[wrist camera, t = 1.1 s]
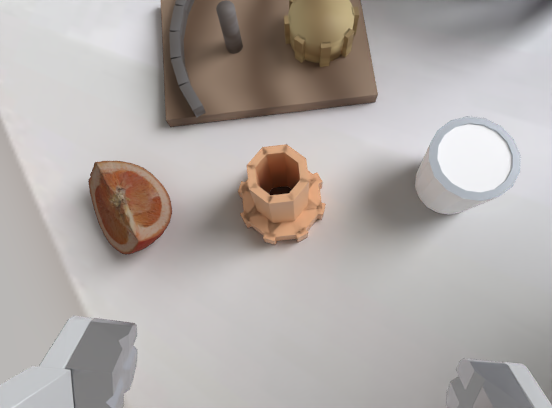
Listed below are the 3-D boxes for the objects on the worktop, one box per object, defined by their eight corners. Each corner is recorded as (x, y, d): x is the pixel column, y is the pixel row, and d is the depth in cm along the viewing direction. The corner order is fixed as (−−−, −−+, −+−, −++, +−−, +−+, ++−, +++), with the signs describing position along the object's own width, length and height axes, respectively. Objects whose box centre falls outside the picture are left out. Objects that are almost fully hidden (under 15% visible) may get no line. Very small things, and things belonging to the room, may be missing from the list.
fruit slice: (89, 195, 42) (61, 179, 37) (151, 159, 43) (132, 138, 38) (127, 271, 40) (104, 264, 35) (192, 232, 41) (178, 220, 36)
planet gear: (317, 160, 42) (321, 120, 34) (328, 238, 40) (335, 217, 32) (238, 170, 42) (223, 132, 34) (245, 248, 40) (231, 229, 32)
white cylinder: (403, 151, 42) (423, 118, 35) (478, 147, 41) (513, 113, 35) (412, 223, 40) (435, 203, 33) (490, 219, 40) (529, 198, 33)
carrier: (353, -20, 47) (362, -78, 40) (375, 103, 43) (389, 62, 36) (164, 4, 47) (142, -49, 40) (170, 128, 43) (146, 92, 37)
